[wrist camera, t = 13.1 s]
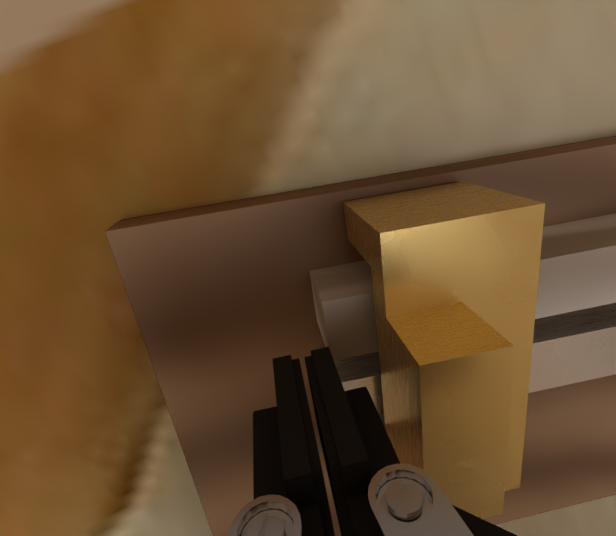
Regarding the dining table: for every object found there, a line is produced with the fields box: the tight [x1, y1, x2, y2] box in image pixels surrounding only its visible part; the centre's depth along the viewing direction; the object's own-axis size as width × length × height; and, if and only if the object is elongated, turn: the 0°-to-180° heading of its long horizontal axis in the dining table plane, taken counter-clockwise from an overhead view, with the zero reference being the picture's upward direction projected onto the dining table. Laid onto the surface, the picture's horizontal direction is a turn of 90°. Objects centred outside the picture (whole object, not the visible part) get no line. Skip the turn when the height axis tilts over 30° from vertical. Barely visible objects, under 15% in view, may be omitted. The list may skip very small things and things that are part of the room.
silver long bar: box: [322, 303, 616, 424], centre depth 14 cm, size 3×20×3 cm, turn 98°
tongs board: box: [105, 136, 616, 536], centre depth 16 cm, size 18×29×4 cm, turn 98°
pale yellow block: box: [343, 181, 545, 519], centre depth 11 cm, size 9×4×6 cm, turn 8°
